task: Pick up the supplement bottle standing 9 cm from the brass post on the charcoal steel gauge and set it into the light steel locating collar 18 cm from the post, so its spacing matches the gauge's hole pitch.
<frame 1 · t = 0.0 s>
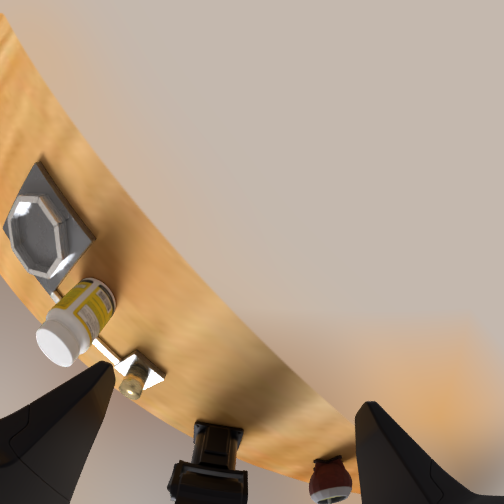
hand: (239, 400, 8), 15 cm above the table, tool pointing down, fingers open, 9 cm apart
supplement bottle: (98, 296, 25), on the table
pitch gauge: (90, 290, 24), on the table
mate gourd: (327, 462, 36), on the table
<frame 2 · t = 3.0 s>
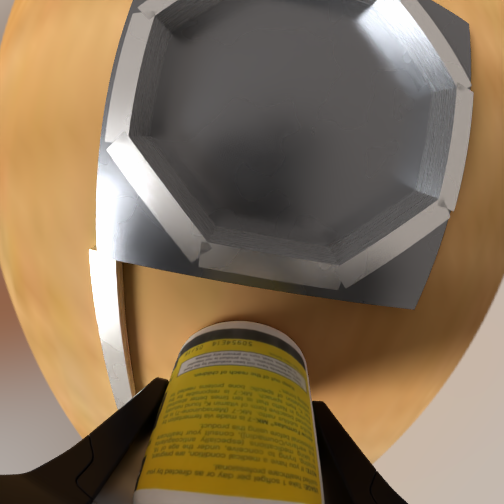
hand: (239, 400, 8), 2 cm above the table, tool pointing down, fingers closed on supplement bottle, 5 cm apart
supplement bottle: (242, 364, 10), on the table, touching gripper
pitch gauge: (246, 349, 9), on the table
when the fingers open (4 cm above the table, at t = 7.3 s): supplement bottle drops 2 cm, resting on pitch gauge.
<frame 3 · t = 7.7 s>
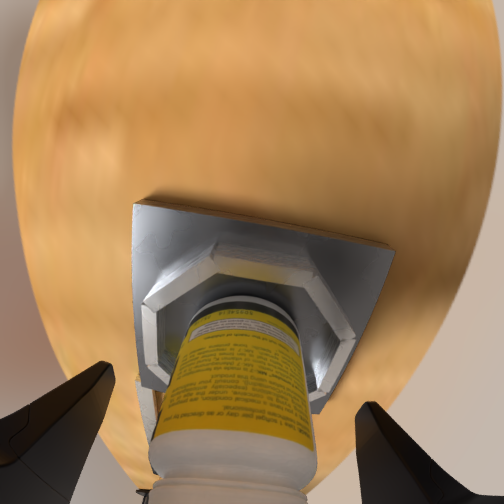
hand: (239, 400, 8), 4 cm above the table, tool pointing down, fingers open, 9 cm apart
supplement bottle: (243, 337, 12), point 1 cm above the table, touching pitch gauge
pitch gauge: (226, 422, 15), on the table
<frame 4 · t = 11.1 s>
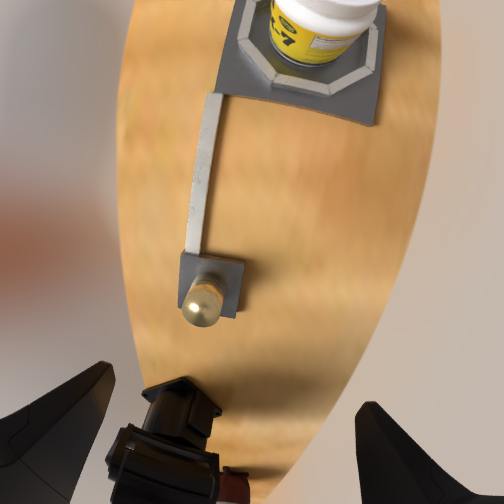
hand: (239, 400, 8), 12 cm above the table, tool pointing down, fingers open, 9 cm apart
supplement bottle: (306, 37, 13), point 1 cm above the table, touching pitch gauge
pitch gauge: (286, 151, 17), on the table
mate gourd: (228, 473, 33), on the table
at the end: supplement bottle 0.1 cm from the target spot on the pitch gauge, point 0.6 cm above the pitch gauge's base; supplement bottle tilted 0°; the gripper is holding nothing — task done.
